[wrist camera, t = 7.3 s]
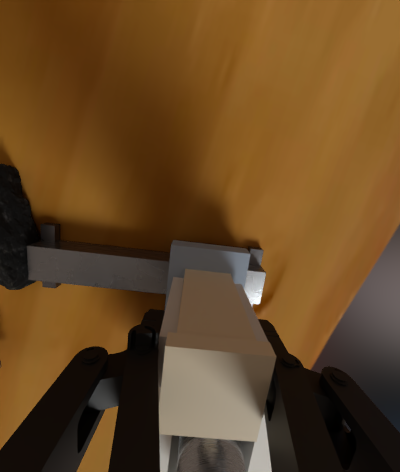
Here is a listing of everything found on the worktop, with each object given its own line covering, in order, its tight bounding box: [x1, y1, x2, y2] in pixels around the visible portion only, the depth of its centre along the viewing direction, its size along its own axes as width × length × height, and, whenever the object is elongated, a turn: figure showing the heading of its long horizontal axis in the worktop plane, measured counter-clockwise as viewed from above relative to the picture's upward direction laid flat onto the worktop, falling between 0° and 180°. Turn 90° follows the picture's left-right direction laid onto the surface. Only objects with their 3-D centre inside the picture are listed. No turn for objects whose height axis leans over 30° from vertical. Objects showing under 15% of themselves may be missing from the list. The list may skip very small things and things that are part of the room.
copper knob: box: [177, 436, 246, 472], centre depth 14 cm, size 4×4×6 cm
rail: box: [27, 223, 266, 306], centre depth 20 cm, size 20×6×2 cm, turn 83°
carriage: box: [159, 240, 276, 442], centre depth 15 cm, size 6×7×13 cm
